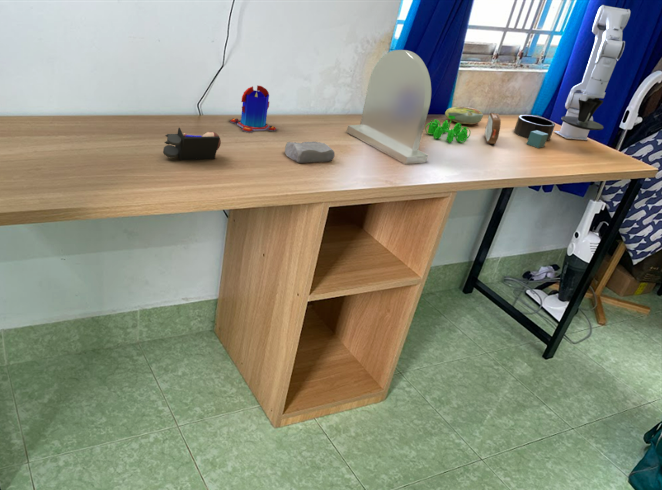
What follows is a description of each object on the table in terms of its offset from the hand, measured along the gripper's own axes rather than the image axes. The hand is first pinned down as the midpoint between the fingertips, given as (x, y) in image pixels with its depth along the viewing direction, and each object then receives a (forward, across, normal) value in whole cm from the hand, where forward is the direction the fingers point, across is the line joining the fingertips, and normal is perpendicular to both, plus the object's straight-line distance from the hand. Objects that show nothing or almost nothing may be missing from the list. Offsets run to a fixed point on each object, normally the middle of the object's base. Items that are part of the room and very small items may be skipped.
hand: (583, 120), depth 207 cm
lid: (+1, 0, 0) cm, 1 cm away
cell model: (+10, +14, -36) cm, 40 cm away
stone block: (+10, +99, -31) cm, 104 cm away
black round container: (+10, -1, -16) cm, 19 cm away
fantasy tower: (+10, +96, -58) cm, 113 cm away
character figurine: (+10, +130, -41) cm, 137 cm away
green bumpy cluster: (+10, +38, -27) cm, 48 cm away
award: (+10, +68, -28) cm, 74 cm away
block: (+10, +10, -9) cm, 17 cm away
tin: (+10, +24, -19) cm, 32 cm away
